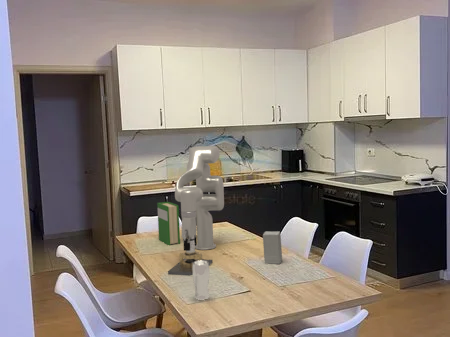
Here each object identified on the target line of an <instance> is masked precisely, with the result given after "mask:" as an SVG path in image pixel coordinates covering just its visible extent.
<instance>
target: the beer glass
mask: <svg viewBox="0 0 450 337" xmlns="http://www.w3.org/2000/svg"><path fill="white" fill-rule="evenodd" d="M192 273H193V276H192V280H193V285H194V291H195V292H194V299H195V298H196V299H198V300H204V299H208V298H209V299H210V294H209V281H210V266H209V262H208V261H204V260H199V261H195V262H193V269H192ZM209 299H208V300H209ZM198 300H197V301H198ZM204 301H205V300H204Z"/></svg>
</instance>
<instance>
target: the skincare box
mask: <svg viewBox="0 0 450 337" xmlns="http://www.w3.org/2000/svg"><path fill="white" fill-rule="evenodd" d="M262 243H263V244H262V245H263V256H264V257H263V259H264V264H266V263H268V264H269V265H272V264H273V265H280V264H281V263H282V261H283V251H282V237H281V231H264V232H263V234H262Z"/></svg>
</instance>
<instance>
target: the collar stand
mask: <svg viewBox="0 0 450 337" xmlns="http://www.w3.org/2000/svg"><path fill="white" fill-rule="evenodd" d="M194 258H195V261H199V260H204V261H208V262H209V267H210V266H211V265H212V264H213V259H207V258H205V259H204V258H202V253H199V252H198V251H195V255H186V251H185V252H180V253H179V262H177V264H175V265H174V266H173V267H171V268H170V269H169V270H168V271H167V274H168V275H174V276H176V275H177V276H190V275H193V273H192V269H193V263H187V260H186V259H194Z"/></svg>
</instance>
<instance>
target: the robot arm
mask: <svg viewBox="0 0 450 337" xmlns="http://www.w3.org/2000/svg"><path fill="white" fill-rule="evenodd" d="M188 154H189V155H188V160H187V168H186V171H185V172H183V173H182V174H181V175H180V176H179V177H178V179H177V181H176V183H175V190H174V199H175V201H177V202H178V203H180V214H181V238H182V243H183V251H185V252H186V251H190V243H189V241H190V238H191V237H193V235H194V238H195V240H194V241H195V250H199V251H207V250H214V249H215V248H216V247H217V244H216V243H214V226H213V216H212V214H211V213H210V211H222V210H223V209H224V207H225V196H224V195H225V193H224V191H225V189H224V180H223V177H222V176H220V175H211V167H210V165H209V164H215V163H216V162H218V160H219V158H220V149H219V148H218V146H214V145H213V146H212V145H207V146H201V145H200V146H193V147H191V148H189V150H188ZM192 181H195V183H196V185H195V186H196V187H189V186H188V187H187V186H186V187H184V186H185V185H186V184H188V183H191V182H192ZM205 193H206V194H205ZM208 193H209V194H208ZM210 193H211V194H210ZM213 193H215V194H213ZM188 236H189V237H188ZM187 239H188V240H187Z"/></svg>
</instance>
